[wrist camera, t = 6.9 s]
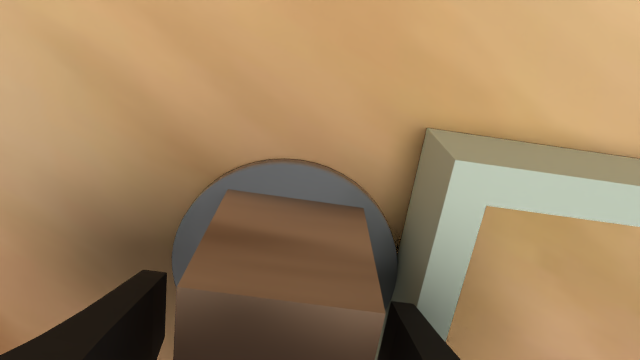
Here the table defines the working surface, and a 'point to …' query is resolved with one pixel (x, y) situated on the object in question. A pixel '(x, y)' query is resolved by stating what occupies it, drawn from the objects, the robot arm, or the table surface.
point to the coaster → (292, 183)
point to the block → (280, 284)
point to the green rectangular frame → (497, 191)
